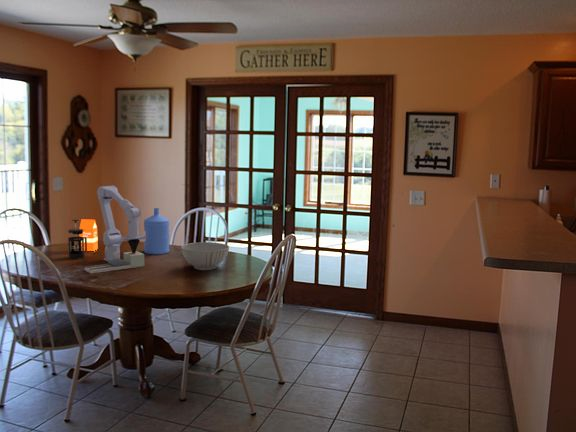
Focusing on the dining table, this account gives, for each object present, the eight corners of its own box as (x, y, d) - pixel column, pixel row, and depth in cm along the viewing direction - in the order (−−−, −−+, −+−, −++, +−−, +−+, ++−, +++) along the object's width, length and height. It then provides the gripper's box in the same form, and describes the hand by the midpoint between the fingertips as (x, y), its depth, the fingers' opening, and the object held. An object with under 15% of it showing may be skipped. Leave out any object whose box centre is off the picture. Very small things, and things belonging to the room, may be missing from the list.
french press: (72, 260, 330) (70, 221, 327) (64, 257, 336) (62, 219, 333) (90, 257, 339) (89, 219, 335) (82, 254, 345) (81, 217, 341)
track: (84, 270, 307) (84, 257, 306) (136, 262, 327) (136, 251, 326) (91, 273, 300) (90, 260, 299) (144, 266, 319) (144, 254, 318)
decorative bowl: (221, 274, 304) (221, 252, 302) (174, 271, 309) (173, 249, 307) (234, 263, 330) (234, 243, 328) (190, 261, 335) (190, 241, 333)
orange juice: (93, 252, 354) (92, 220, 351) (79, 251, 354) (78, 220, 351) (97, 249, 361) (97, 218, 359) (84, 249, 362) (83, 218, 359)
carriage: (108, 263, 314) (108, 252, 313) (118, 261, 318) (118, 251, 317) (113, 265, 309) (113, 254, 308) (123, 264, 313) (123, 253, 312)
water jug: (174, 251, 360) (174, 208, 356) (156, 255, 347) (156, 210, 343) (157, 248, 368) (156, 206, 364) (138, 252, 355) (138, 208, 351)
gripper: (124, 231, 310) (124, 255, 312) (148, 228, 319) (148, 252, 321) (118, 229, 315) (119, 253, 317) (142, 227, 324) (143, 250, 326)
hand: (133, 252), depth 319 cm, fingers closed
